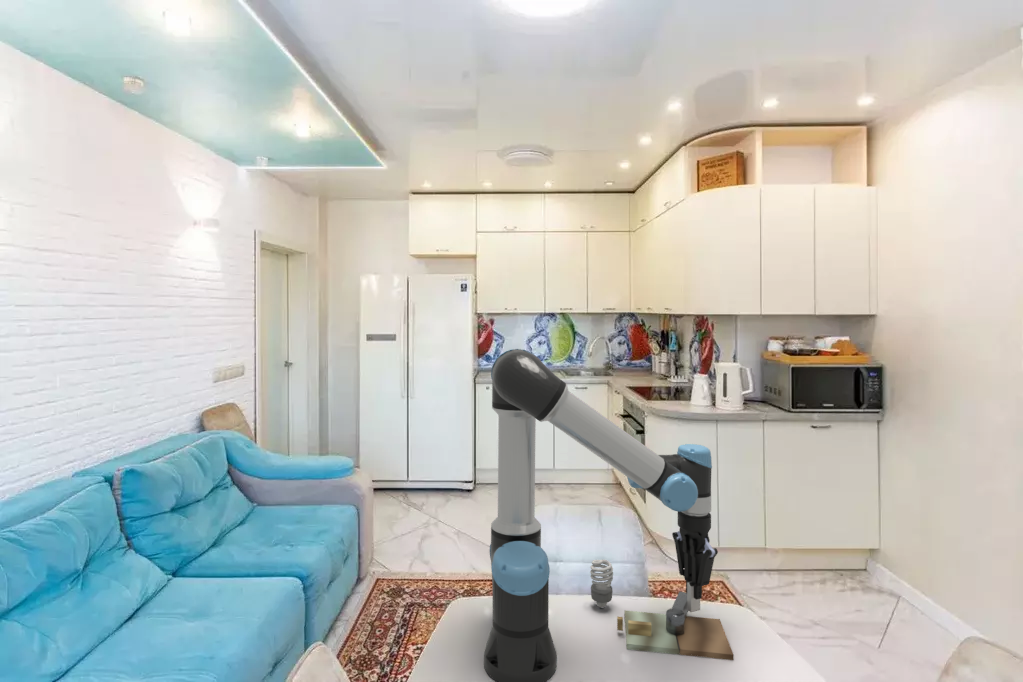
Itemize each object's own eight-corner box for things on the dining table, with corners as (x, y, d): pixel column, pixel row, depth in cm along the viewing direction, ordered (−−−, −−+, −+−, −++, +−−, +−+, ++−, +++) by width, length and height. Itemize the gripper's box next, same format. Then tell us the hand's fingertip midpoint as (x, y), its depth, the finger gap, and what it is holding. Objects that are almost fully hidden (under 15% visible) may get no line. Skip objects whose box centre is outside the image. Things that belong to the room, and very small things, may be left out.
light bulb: (612, 602, 137) (612, 556, 136) (613, 614, 131) (613, 565, 131) (589, 601, 137) (590, 554, 137) (590, 612, 132) (590, 564, 131)
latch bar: (682, 636, 119) (682, 620, 119) (664, 632, 121) (664, 615, 121) (692, 609, 131) (693, 594, 131) (675, 605, 133) (676, 590, 132)
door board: (617, 648, 117) (617, 631, 117) (616, 614, 131) (616, 599, 131) (733, 660, 113) (733, 642, 113) (719, 624, 127) (719, 608, 127)
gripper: (663, 504, 132) (663, 600, 132) (701, 522, 120) (700, 627, 120) (687, 501, 135) (687, 594, 135) (727, 517, 123) (726, 620, 123)
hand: (693, 609), depth 128 cm, fingers closed
